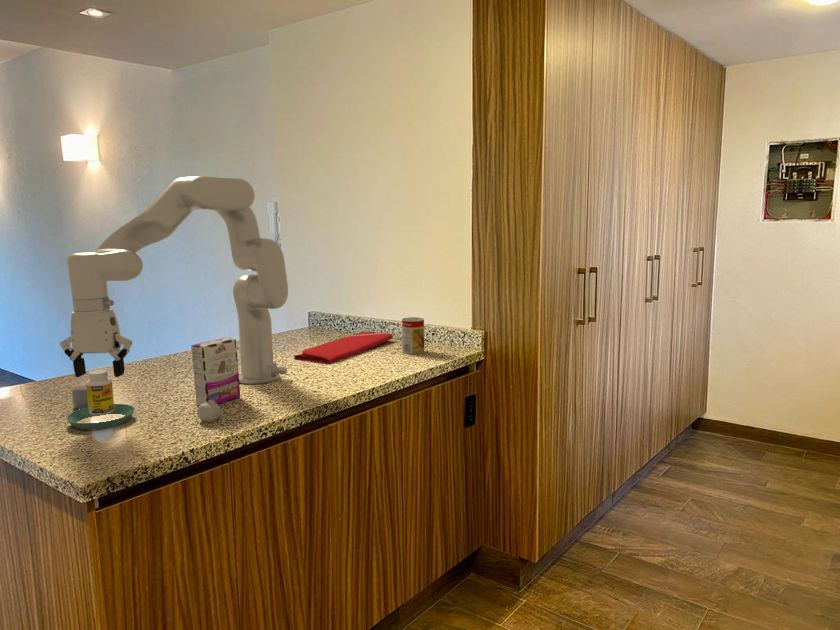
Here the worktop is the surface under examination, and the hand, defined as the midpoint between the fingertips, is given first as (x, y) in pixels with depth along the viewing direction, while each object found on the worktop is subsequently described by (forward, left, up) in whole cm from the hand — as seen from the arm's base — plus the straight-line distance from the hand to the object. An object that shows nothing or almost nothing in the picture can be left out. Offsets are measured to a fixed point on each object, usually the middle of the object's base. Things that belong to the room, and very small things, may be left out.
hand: (100, 375), depth 148 cm
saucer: (0, 0, -12) cm, 12 cm away
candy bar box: (-22, -17, -12) cm, 30 cm away
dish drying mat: (-44, -81, -12) cm, 93 cm away
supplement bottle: (0, 0, -9) cm, 9 cm away
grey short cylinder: (+11, -12, -11) cm, 20 cm away
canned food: (-69, -78, -12) cm, 104 cm away
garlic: (-26, -2, -12) cm, 28 cm away
